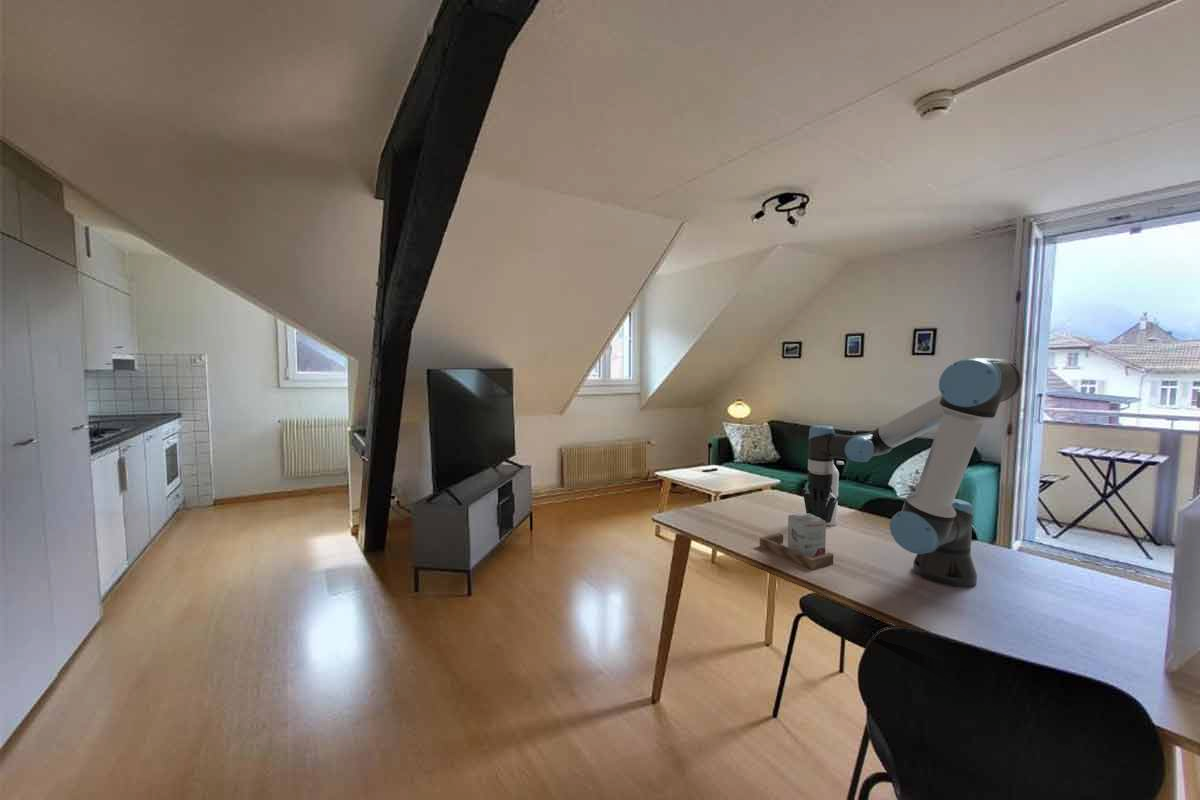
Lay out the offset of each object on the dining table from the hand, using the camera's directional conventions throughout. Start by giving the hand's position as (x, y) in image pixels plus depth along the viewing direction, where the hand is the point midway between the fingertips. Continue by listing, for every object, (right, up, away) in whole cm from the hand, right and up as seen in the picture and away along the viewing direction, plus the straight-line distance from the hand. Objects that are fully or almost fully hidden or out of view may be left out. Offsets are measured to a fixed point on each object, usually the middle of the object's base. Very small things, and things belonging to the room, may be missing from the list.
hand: (817, 541), depth 161 cm
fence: (-10, -3, -5) cm, 11 cm away
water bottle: (+16, -1, +24) cm, 29 cm away
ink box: (-5, -3, -3) cm, 7 cm away
